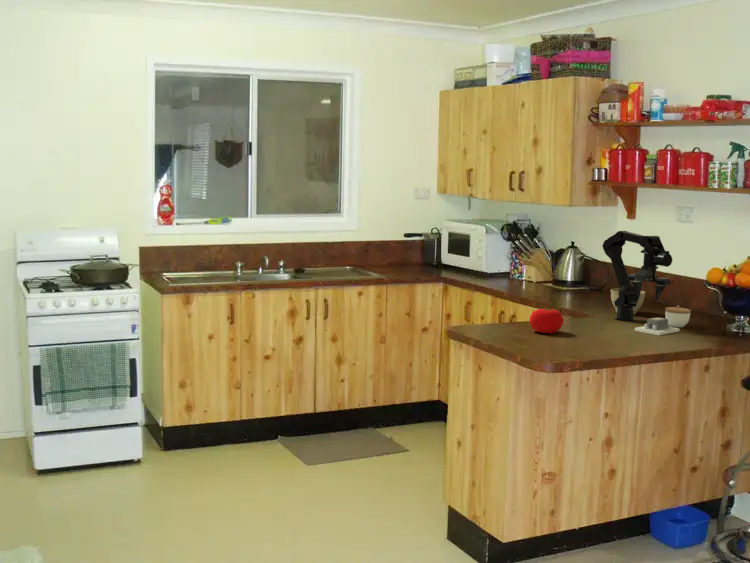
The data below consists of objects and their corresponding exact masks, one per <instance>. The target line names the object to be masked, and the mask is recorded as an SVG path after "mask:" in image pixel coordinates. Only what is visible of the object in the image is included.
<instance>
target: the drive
mask: <svg viewBox="0 0 750 563" xmlns="http://www.w3.org/2000/svg"><path fill="white" fill-rule="evenodd" d="M646 324H648V328H649V329H653V325H655V326H656V330H660V329H667V328H668V319H666V318H664V317H652V318H647V319H646Z"/></svg>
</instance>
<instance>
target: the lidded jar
mask: <svg viewBox="0 0 750 563" xmlns="http://www.w3.org/2000/svg"><path fill="white" fill-rule="evenodd" d="M664 310H665V311H664V312H665V315H664V316H665V319H668V323H670V327H673V328H684V327H685V326H686V325H687V324H688V323H689V321H690V318H691V317H690V316H691V311H692V310H691V309H689V308H686V307H680V305H679V304H678V305H676V306H668V307H665V309H664Z"/></svg>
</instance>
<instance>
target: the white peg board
mask: <svg viewBox="0 0 750 563" xmlns="http://www.w3.org/2000/svg"><path fill="white" fill-rule="evenodd" d="M680 330H681V329H680V328H679V327H672V326H670V323H668V328H667V329H660V330H656V326H655V325H653V329H649V328H648V324H647V323H644V325H643V326H638V327H634V331H635V332H640V333H645V334H650V335H657V336H663V335H668V334H673V333H678V332H680Z"/></svg>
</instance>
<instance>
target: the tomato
mask: <svg viewBox="0 0 750 563" xmlns="http://www.w3.org/2000/svg"><path fill="white" fill-rule="evenodd" d="M528 322H529V325H530V326H531V328H532V329H533V331H535V332H538V333H542V334H547V333H549V335H550V334H555V333H557V332H558V331H560V330H561V328H562V327H563V324H564V317H563V314H562V313H561V312H560V311H559V310H557V309H555V308H549V307H546V308H538V309H535V310H533V312H531V314H530V316H529V321H528Z"/></svg>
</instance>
